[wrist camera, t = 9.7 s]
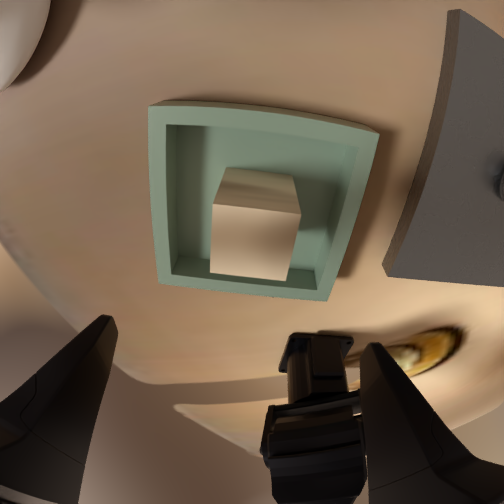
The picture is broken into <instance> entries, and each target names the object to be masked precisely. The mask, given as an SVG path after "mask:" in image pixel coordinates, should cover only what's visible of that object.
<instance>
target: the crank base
mask: <svg viewBox="0 0 504 504" xmlns="http://www.w3.org/2000/svg"><path fill="white" fill-rule="evenodd" d="M503 174H504V39H503V38H502V37H501V36H499V35H498V34H497V33H495V32H494V31H493V30H491V29H490V28H489V27H487V26H486V25H484V24H483V23H481V22H480V21H478V20H477V19H475V18H474V17H472V16H471V15H469V14H468V13H466V12H465V11H463V10H461V9H456V10H449V11H448V14H447V27H446V37H445V45H444V53H443V60H442V66H441V73H440V78H439V84H438V89H437V94H436V99H435V104H434V108H433V113H432V117H431V121H430V125H429V129H428V133H427V137H426V141H425V144H424V148H423V152H422V155H421V158H420V162H419V165H418V168H417V172H416V175H415V178H414V181H413V184H412V187H411V190H410V193H409V196H408V199H407V202H406V204H405V207H404V210H403V213H402V215H401V218H400V221H399V223H398V226H397V229H396V231H395V234H394V236H393V239H392V241H391V244H390V246H389V248H388V251H387V253H386V256H385V258H384V260H383V263H382V266H383V268H384V270H385V272H386V275H387V277H396V278H406V279H417V280H428V281H439V282H450V283H461V284H473V285H485V286H497V287H504V202H503V201H502V199H501V196H500V183H501V179H502V176H503Z"/></svg>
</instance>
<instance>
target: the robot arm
mask: <svg viewBox="0 0 504 504" xmlns="http://www.w3.org/2000/svg"><path fill="white" fill-rule="evenodd" d="M117 338H118V330H117V327H116V324H115V321H114V318H113V317H112V316H109V315H104V314H103V315H100V316H99V317H98V318H97V319H96V320H94V321H93V322H92V323H91V324H90V325H89V326H87V327H86V328H85V329H84V330H83V331H82V332H80V333H79V334H78V335H77V336H76V337H75V338H74V339H72V340H71V341H70V342H69V343H68V344H67V345H66V346H65V347H63V348H62V349H61V350H60V351H59V352H58V353H57V354H56V355H55V356H53V357H52V358H51V359H50V360H49V361H48V362H47V363H46V364H45V365H43V366H42V367H41V368H40V369H39V370H38V371H37V372H36V373H35V374H34V375H33V376H32V377H30V378H29V379H28V380H27V381H26V382H25V383H24V384H23V385H22V386H20V387H19V388H18V389H17V390H15V391H14V392H13V393H12V394H11V395H9V396H8V397H7V398H5V399H4V400H3V401H1V402H0V504H56V503H57V504H78V500H79V495H80V489H81V484H82V478H83V473H84V469H85V463H86V459H87V454H88V450H89V446H90V442H91V438H92V433H93V430H94V426H95V422H96V419H97V415H98V411H99V407H100V404H101V401H102V397H103V394H104V391H105V388H106V384H107V381H108V378H109V374H110V371H111V366H112V361H113V356H114V352H115V347H116V342H117ZM353 343H354V340H353V337H346V336H321V335H303V334H292V335H290V336H289V338H288V341H287V344H286V347H285V350H284V353H283V355H282V358H281V361H280V364H279V367H278V369H279V372H281V373H287V377H288V404H283V405H276V406H275V405H269V406H268V412H267V414H266V419H265V425H264V430H263V436H262V441H261V447H260V453H261V454H262V455H263V459H264V462H265V465H266V466H267V468H269V469H270V472H271V480H272V496H273V497H274V499H275V500H276V502H277V503H278V504H353V503H354V501H355V499H356V498H357V496H359V495H360V493H361V491H362V489H363V487H364V485H365V482H366V480H367V469H368V487H369V504H504V466H503V465H499V464H495V463H492V462H488V461H485V460H481V459H479V458H477V457H475V456H474V455H473V454H472V453H470V452H469V450H468V449H466V447H465V446H464V445H463V444H462V443H461V442H460V441H459V440H458V439H457V438H456V436H455V435H454V434H453V433H452V432H451V431H450V430H449V428H448V427H447V426H446V425H445V424H444V422H443V421H442V420H441V419H440V417H439V416H438V415H437V413H436V412H435V411H434V410H433V408H432V407H431V406H430V404H429V403H428V402H427V400H426V399H425V398H424V397H423V395H422V394H421V393H420V391H419V390H418V389H417V388H416V386H415V385H414V384H413V383H412V381H411V380H410V379H409V378H408V376H407V375H406V374H405V373H404V371H403V370H402V369H401V368H400V366H399V365H398V364H397V363H396V361H395V360H394V359H393V358H392V356H391V355H390V354H389V353H388V352H387V350H386V349H385V348H384V347H383V345H382V344H381V343H379V342H370V343H369V344H368V345H367V346H366V348H365V349H364V351H363V352H362V354H361V356H360V389H358V390H356V391H351V392H349V388H348V383H347V377H346V371H345V365H344V358H345V356H346V355H347V353H348V351H349V350H350V348H351V346H352V345H353ZM357 413H361V414H360V415H356V416H354V415H353V414H357ZM365 455H367V467H366V457H365Z"/></svg>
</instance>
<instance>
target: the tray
mask: <svg viewBox="0 0 504 504" xmlns="http://www.w3.org/2000/svg"><path fill="white" fill-rule="evenodd" d="M379 135H380V134H379V133H377V132H376V131H374V130H372V129H371V128H369V127H368V126H366V125H364V124H360V123H356V122H351V121H347V120H343V119H338V118H333V117H328V116H323V115H318V114H313V113H307V112H301V111H295V110H289V109H282V108H275V107H267V106H258V105H249V104H238V103H226V102H210V101H178V100H164V101H161V102H158V103H155V104H153V105H150V106H148V152H149V181H150V199H151V213H152V226H153V237H154V247H155V256H156V265H157V273H158V281H159V283H160V284H167V285H174V286H182V287H189V288H197V289H205V290H214V291H222V292H231V293H240V294H249V295H259V296H269V297H279V298H290V299H301V300H313V301H326V302H327V300H328V298H329V295H330V293H331V290H332V287H333V285H334V282H335V279H336V277H337V274H338V271H339V268H340V266H341V263H342V260H343V257H344V254H345V251H346V248H347V246H348V243H349V240H350V237H351V234H352V230H353V227H354V224H355V221H356V218H357V215H358V212H359V208H360V205H361V202H362V198H363V195H364V192H365V188H366V185H367V181H368V178H369V174H370V170H371V167H372V163H373V159H374V155H375V151H376V147H377V143H378V139H379ZM226 167H228V168H237V169H246V170H255V171H263V172H271V173H278V174H285V175H292V177H293V181H294V185H295V189H296V193H297V198H298V202H299V206H300V211H301V218H300V223H299V227H298V231H297V236H296V240H295V244H294V249H293V253H292V257H291V261H290V265H289V269H288V273H287V277H286V281H280V280H270V279H261V278H252V277H243V276H235V275H226V274H218V273H210V254H211V229H212V208H213V202H214V199H215V196H216V193H217V191H218V188H219V185H220V182H221V180H222V177H223V174H224V171H225V169H226Z"/></svg>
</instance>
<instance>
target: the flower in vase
mask: <svg viewBox="0 0 504 504" xmlns="http://www.w3.org/2000/svg"><path fill="white" fill-rule="evenodd" d="M50 2H51V0H0V92H2V91H3V90H5V89H6V88H7V87H8V86H9V85H10V84H11V83H12V82H13V81H14V80H15V79H16V77H17V76H18V75H19V74H20V72H21V71H22V70H23V69H24V67H25V66H26V64H27V63H28V61H29V59H30V58H31V56H32V54H33V53H34V51H35V49H36V47H37V45H38V42H39V40H40V38H41V35H42V33H43V30H44V27H45V24H46V21H47V17H48V13H49V9H50Z"/></svg>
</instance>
